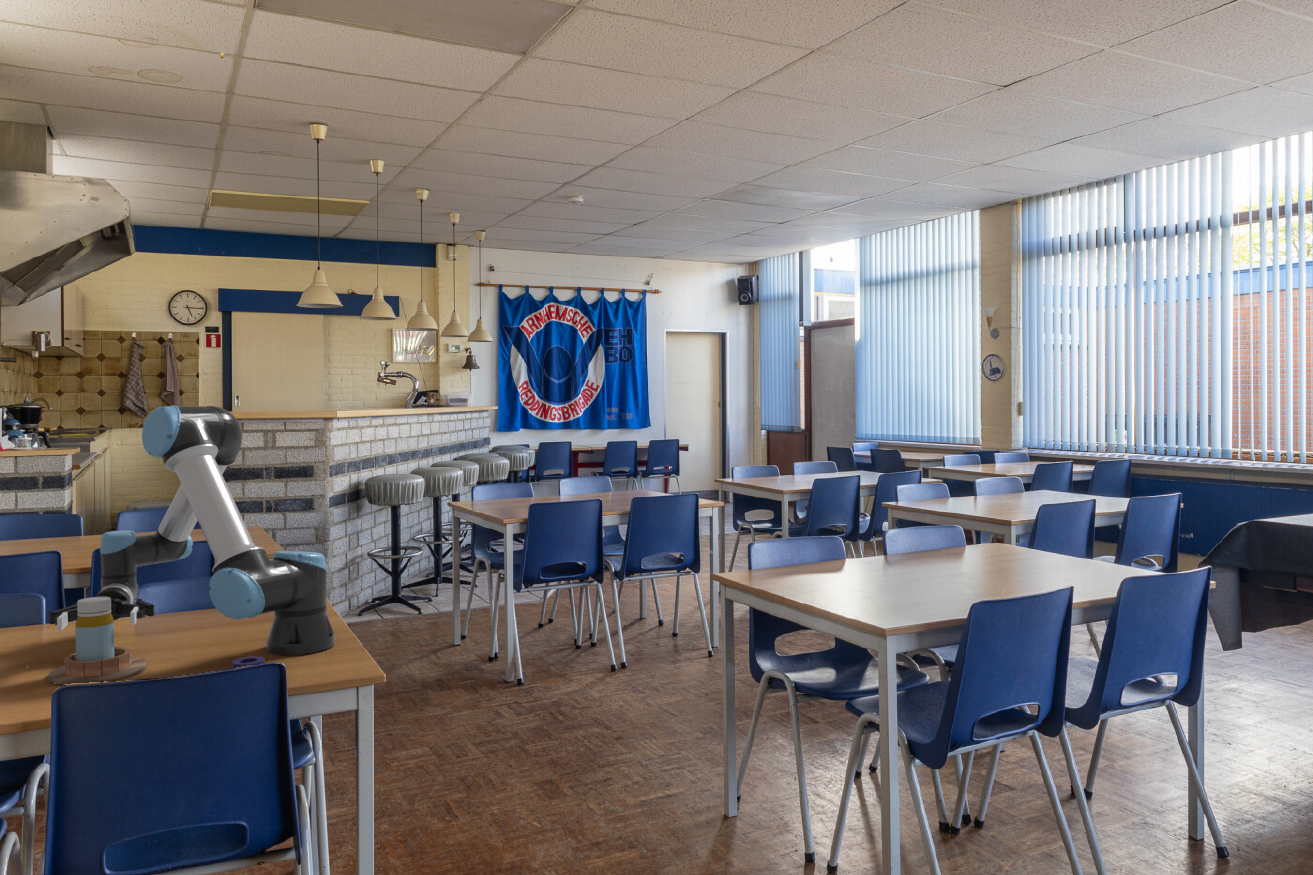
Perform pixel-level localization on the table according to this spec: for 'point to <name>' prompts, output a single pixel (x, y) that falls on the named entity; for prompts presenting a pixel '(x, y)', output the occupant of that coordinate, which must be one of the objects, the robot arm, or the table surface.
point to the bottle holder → (98, 668)
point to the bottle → (94, 629)
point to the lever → (248, 661)
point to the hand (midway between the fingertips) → (96, 621)
